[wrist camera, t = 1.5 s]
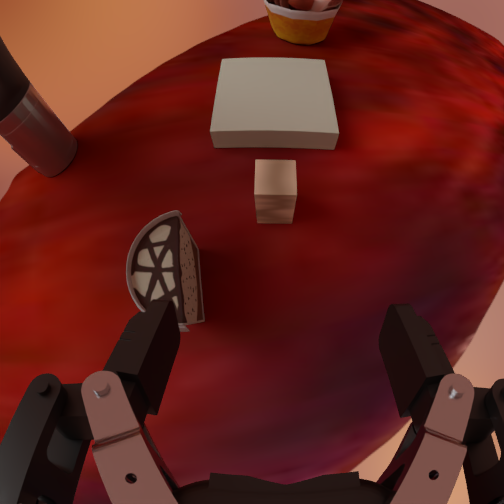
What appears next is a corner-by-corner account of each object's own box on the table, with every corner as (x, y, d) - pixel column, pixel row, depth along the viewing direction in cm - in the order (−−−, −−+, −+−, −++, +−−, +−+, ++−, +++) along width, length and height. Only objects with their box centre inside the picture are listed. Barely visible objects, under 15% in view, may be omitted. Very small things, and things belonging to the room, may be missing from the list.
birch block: (257, 223, 39) (254, 194, 31) (258, 192, 40) (255, 159, 32) (291, 223, 39) (296, 195, 31) (291, 193, 40) (295, 160, 32)
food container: (154, 244, 39) (122, 215, 29) (198, 238, 39) (176, 205, 29) (159, 337, 35) (123, 334, 26) (206, 333, 35) (183, 330, 25)
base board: (214, 148, 43) (209, 131, 39) (224, 74, 48) (222, 59, 44) (334, 149, 42) (339, 133, 38) (321, 76, 47) (324, 60, 43)
